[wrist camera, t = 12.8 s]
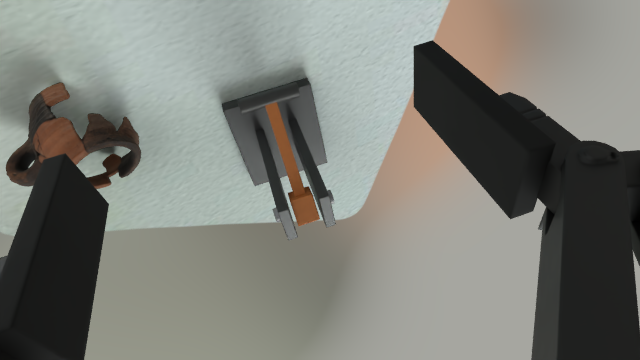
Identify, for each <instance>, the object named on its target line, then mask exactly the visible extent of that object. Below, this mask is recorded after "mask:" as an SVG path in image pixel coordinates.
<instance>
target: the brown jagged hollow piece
mask: <svg viewBox="0 0 640 360" xmlns="http://www.w3.org/2000/svg"><path fill="white" fill-rule="evenodd" d="M69 97H70V95H69V93H68V91H67V90H66V89H65V86H64V84H63V83H58V84H55V85H52V86H50V87H48V88H46V89H45V90H43V91H41V93H39V94H37V95H36V96H35V98H34V99H33V100H32V102H31V104H30V107H29V116H30V120H29V134H28V137H29V138H28V140H27V141H26V142H25V143H24V144H23V145H22V146H21V147H20V148H18V149H17V150H16V151H15V152H14V153H13V154H12V155H11V156H10V158H9V160H8V161H7V164H6V171H7V175H8V176H9V178H10V180H11V181H12V182H14V183H17V184H19V185H22V186H34V184H35V181H36V178H37V176H38V173H39V170H40V168H41V165H42V162H43V160H44V159H47V158H51V157H54V156H57V155H60V154H64V153H66V154H67V155H68V157H69V158H70V159H71V160H72V161H73V162H74V164H75V165H76V164H78V163H79V161H81V160H82V159H83V158H84V157H85V156H87V155H88V154H89V153H92V152H94V151H97V150H99V149H102V148H106V147H112V146H123V147H127V148H128V149H130V150H131V151H130V152H129V153H128V154H126V155H125V156H123V157H122V158H121V157H120V156H118V155H116V154H111V155H110V156H108V157H107V158H106V159H105V160H104V161H103V166H104V167H105V168H106V171H107V172H105V173H103V174H100V175H96V176H93V177H86V178H87V179H88V180H89V181H90V183H91V184H92V185H93V186H94V187H95V188H96V189H99V188H103V187H106V186H109V185H111V181H110V179H109V177H111V176H113V175H115V174H116V173H118V172H119V176H120V177H121V178H123V177H125V176H128V175H129V174H130V173H132V171H134V169H135V168H136V167H137V165H138V164H139V162H140V159H141V150H140V148H139V136H138V134H137V133H136V131H135V130H134V129H133V127H132V125H131V123H130V121H129V120H128V118H127V117H124V118H123V122H122V125H121V126H120V128H119V129H118V131H117V130H116V128H115V126H114V125H113V124H112V123H111V122H109V121H107V120H106V119H104V117H103V116H102V115H100V114H94V113H91V114H88V120H89V125H88V127H87V130H86V133H85V135H84V137H83V138H82V139H81V138H80V137H79V136H78V134H77V133H76V131H75V129H74V127H73V124H72V122H71V121H69V120H68V119H67V118H64V117H60V118H56V116H55V115H54V114H53V113H52V112H51V107H52V106H54V105H55V104H57V103H59V102H61V101H63V100H66V99H68V98H69ZM34 160H35V161H34ZM33 161H34V163H33V165H32V166H31V167H30V168H28V167H29V166H30V164H31V163H32V162H33Z"/></svg>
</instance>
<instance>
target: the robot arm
mask: <svg viewBox="0 0 640 360" xmlns="http://www.w3.org/2000/svg"><path fill="white" fill-rule="evenodd" d="M414 107H415V109H416V110H417V111H418V112H419V113H420V114H421V115H422V117H423V118H424V119H425V120H426V121H427V123H428V124H429V125H430V126H431V127H432V128H433V130H434V131H435V132H436V133H437V134H438V135H439V137H440V138H441V139H442V140H443V141H444V142H445V144H446V145H447V146H448V147H449V148H450V149H451V151H452V152H453V153H454V154H455V155H456V156H457V157H458V159H459V160H460V161H461V162H462V163H463V165H464V166H466V168H467V169H468V170H469V172H470V173H471V174H472V175H473V176H474V177H475V178H476V180H477V181H478V182H479V183H480V184H481V185H482V187H483V188H484V189H485V190H486V191H487V192H488V194H489V195H490V196H491V197H492V198H493V199H494V201H495V202H496V203H497V204H498V205H499V206H500V208H501V209H502V210H503V211H504V212H505V213H506V215H507V216H508V217H509V218H510V219H512V218H515V217H518V216H521V215H524V214H526V213H529V212H532V211H533V210H534V207H535V204H536V201H537V198H538V199H539V200H540V201H541V202H542V203H543V204H544V205H545V206H546V209H545V212H544V214H543V217H542V220H541V222H540V225H539V228H538V229H540V230H542V241H541V252H540V264H539V277H538V288H537V299H536V300H537V301H536V312H535V323H534V336H533V347H532V359H531V360H640V328H639V317H638V306H637V295H636V284H635V272H634V261H633V252H634V254H635V256H636V259H637V261H638V263H639V266H640V150H637V151H623V152H619V151H618V150H617V149H615V148H614V147H612V146H609V145H607V144H605V143H601V142H597V141H580V140H578V139H577V138H576V137H575V136H573V135H572V134H571V133H570V132H568V131H567V130H566V129H564V128H563V127H562V126H560V125H559V124H558V123H557V122H555V121H554V120H553V119H551V118H550V117H549V116H546V114H545V113H544V112H543V111H541V110H540V109H537V107H536V106H535V105H534V104H532V103H531V102H530V101H528V100H527V99H526V98H524V97H521V96H518V95H516V94H513V93H511V92H508V93H505V94H502V95H498V94H497V93H495V92H494V91H493V90H492V89H490V88H489V87H488V86H487V85H486V84H484V83H483V82H482V81H481V80H480V79H478V78H477V77H476V76H475V75H473V74H472V73H471V72H470V71H469V70H468V69H466V68H465V67H464V66H463V65H462V64H460V63H459V62H458V61H457V60H456V59H454V58H453V57H452V56H451V55H450V54H448V53H447V52H446V51H445V50H443V49H442V48H441V47H440V46H439V45H437V44H436V43H435V42H434V41H433V40H432V41H429V42H426V43H423V44H419V45H416V46H414ZM108 206H109V204H108V203H107V201H106V200H105V199H104V198H103V197H102V195H101V194H100V193H99V192H98V191H97V190H96V188H95V187H94V186H93V185H92V184H91V183H90V181H89V180H88V179H87V178H86V177H85V175H84V174H83V173H82V172H81V171H80V170H79V168H78V167H77V166H76V165H75V164H74V162H73V161H72V160H71V159H70V158H69V157H68V155H67V154H66V153H64V154H60V155H57V156H54V157H51V158H47V159H44V160H43V162H42V165H41V168H40V170H39V173H38V176H37V178H36V181H35V184H34V186H33V189H32V192H31V194H30V197H29V200H28V202H27V205H26V208H25V210H24V213H23V216H22V218H21V221H20V224H19V226H18V229H17V232H16V234H15V237H14V240H13V243H12V245H11V248H10V250H9V253H8V256H5V257H1V258H0V360H84V356H85V350H86V344H87V338H88V331H89V325H90V319H91V313H92V306H93V300H94V294H95V287H96V281H97V275H98V268H99V262H100V256H101V250H102V244H103V237H104V231H105V225H106V219H107V212H108ZM632 249H633V250H632Z"/></svg>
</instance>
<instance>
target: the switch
mask: <svg viewBox="0 0 640 360" xmlns="http://www.w3.org/2000/svg"><path fill="white" fill-rule="evenodd" d="M298 97H300V91H299V88H298V85H297V83H292V84H289V85H285V86H282V87H279V88H276V89H272V90H269V91H266V92H263V93H259V94H256V95H253V96H250V97H246V98H243V99H240V100H237V102H238V106H239V108H240V111H241V114H246V113H249V112H252V111H256V110H259V109H262V108H265V107H266V110H267V113H268V116H269V120H270V123H271V126H272V129H273V132H274V135H275V138H276V141H277V144H278V147H279V150H280V153H281V156H282V159H283V162H284V165H285V168H286V171H287V175H288V178H289V181H290V184H291V187H292V190H293V192H289V193H288V195H289V199H290V202H291V205H292V208H293V211H294V214H295V217H296V220H297V223H298V226H301V225H304V224H307V223H310V222H313V221H316V220H319V219H320V218H319V215H318V211H317V208H316V205H315V202H314V198H313V195H312V193H311V191H310V189H309V187H305V188H304V187H303V183H302V180H301V177H300V174H299V171H298V168H297V164H296V161H295V158H294V155H293V152H292V149H291V145H290V142H289V139H288V136H287V133H286V129H285V126H284V123H283V120H282V117H281V114H280V110H279V107H278V103H282V102H285V101H288V100H291V99H294V98H298Z"/></svg>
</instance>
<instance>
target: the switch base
mask: <svg viewBox="0 0 640 360" xmlns="http://www.w3.org/2000/svg"><path fill="white" fill-rule="evenodd" d="M292 83H297V85H298V88H299V91H300V97H298V98H294V99H291V100H288V101H285V102H282V103H278V107H279V110H280V114H281V117H282V120H283V123H284V126H285V129H286V133H287V136H288V139H289V142H290V145H291V149H292V152H293V155H294V158H295V161H296V164H297V168H298V171H302V170H304V171H305V173H306V176H307V179H308V181H309V184H310V186H311V189H312V191H313V194H314V197H315V199H316V202H317V204H318V207H319V210H320V212H321V215H322V217H323V220H324V222H325V225H326V227H330V226H333V225H335V224H336V223H335V219H334V214H333V210H332V206H331V204H333V203H334V199H333V196H332V193H331V191H330V190H328V191H327V189H326V187H325V185H324V182H323V180H322V178H321V175H320V173H319V171H318V168H317V166H318V165H321V164H324V163H327V159H326V154H325V149H324V145H323V140H322V136H321V131H320V126H319V122H318V117H317V112H316V108H315V103H314V98H313V94H312V89H311V84H310V82H309V81H308V79H307V78H305V79H302V80H299V81H295V82H292ZM292 83H289V84H292ZM289 84H286V85H289ZM282 86H285V85H282ZM282 86H279V87H282ZM279 87H276V88H279ZM276 88H273V89H276ZM269 90H272V89H269ZM269 90H266V91H269ZM266 91H263V92H266ZM263 92H259V93H263ZM259 93H256V94H259ZM256 94H253V95H256ZM253 95H250V96H253ZM250 96H246V97H250ZM246 97H243V98H246ZM243 98H240V99H243ZM240 99H237V100H240ZM237 100H233V101H230V102H227V103H224V104H222V107H223V112H224V114H225V117H226V119H227V121H228V124H229V126H230V128H231V131H232V133H233V136H234V138H235V140H236V143H237V145H238V147H239V150H240V152H241V155H242V157H243V159H244V162H245V164H246V166H247V169H248V171H249V174H250V176H251V178H252V181H253V183H254V185H255V186H256V185H259V184H263V183H266V182H269V183H270V186H271V190H272V194H273V197H274V201H275V204H276V208H274V209H273V213H274V216H275V219H276V221H277V222H279V221H281V222H282V225H283V227H284V230H285V233H286V235H287V237H288V240H291V239H294V238H297V237H298V236H297V232H296V229H295V226H294V223H293V219H292V216H291V213H290V210H289V206H288V203H287V200H286V197H285V193H284V190H283V187H282V184H281V181H280V178H281V177H284V176H287V171H286V168H285V165H284V162H283V159H282V156H281V153H280V150H279V147H278V144H277V141H276V138H275V135H274V132H273V129H272V126H271V123H270V120H269V116H268V113H267V110H266V107H265V108H262V109H259V110H256V111H252V112H249V113H246V114H241V111H240V108H239V106H238V102H237Z"/></svg>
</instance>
